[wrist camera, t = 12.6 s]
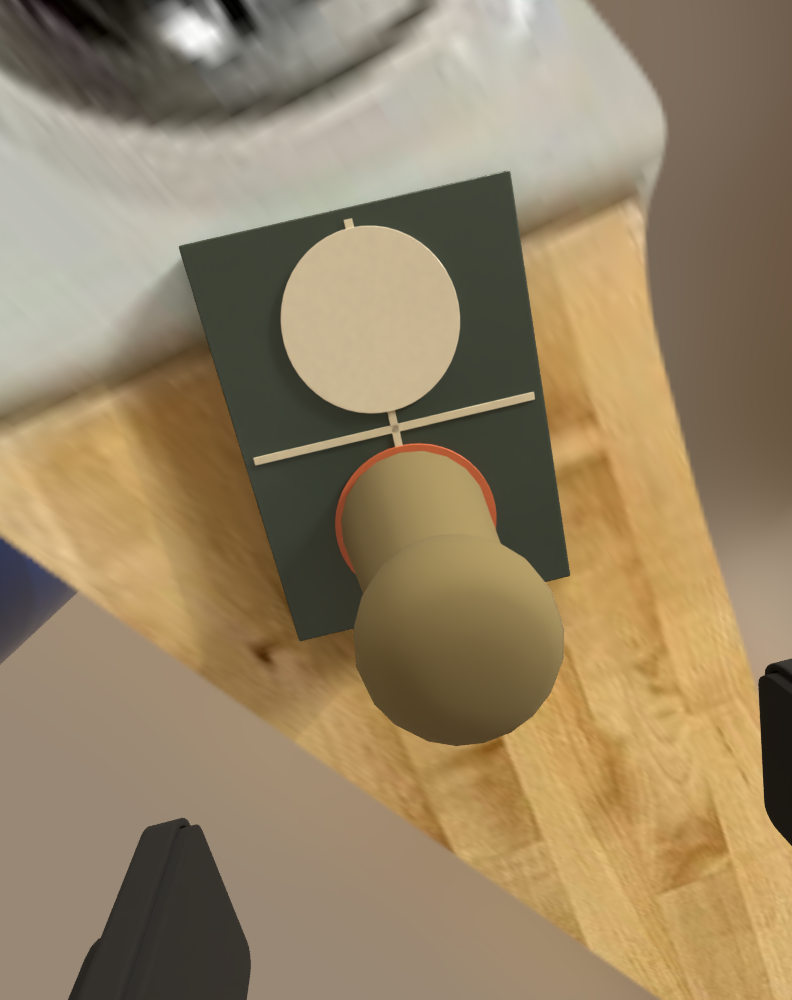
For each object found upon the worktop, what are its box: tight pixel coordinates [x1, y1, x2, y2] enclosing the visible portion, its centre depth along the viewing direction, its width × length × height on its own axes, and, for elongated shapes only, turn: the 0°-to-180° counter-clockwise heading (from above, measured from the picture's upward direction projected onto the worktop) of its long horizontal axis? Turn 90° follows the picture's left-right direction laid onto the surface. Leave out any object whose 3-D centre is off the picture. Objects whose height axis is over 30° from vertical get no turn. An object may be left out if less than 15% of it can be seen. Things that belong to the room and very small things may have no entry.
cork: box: [341, 451, 564, 746], centre depth 18 cm, size 6×6×11 cm
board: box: [179, 170, 570, 641], centre depth 23 cm, size 12×16×1 cm
